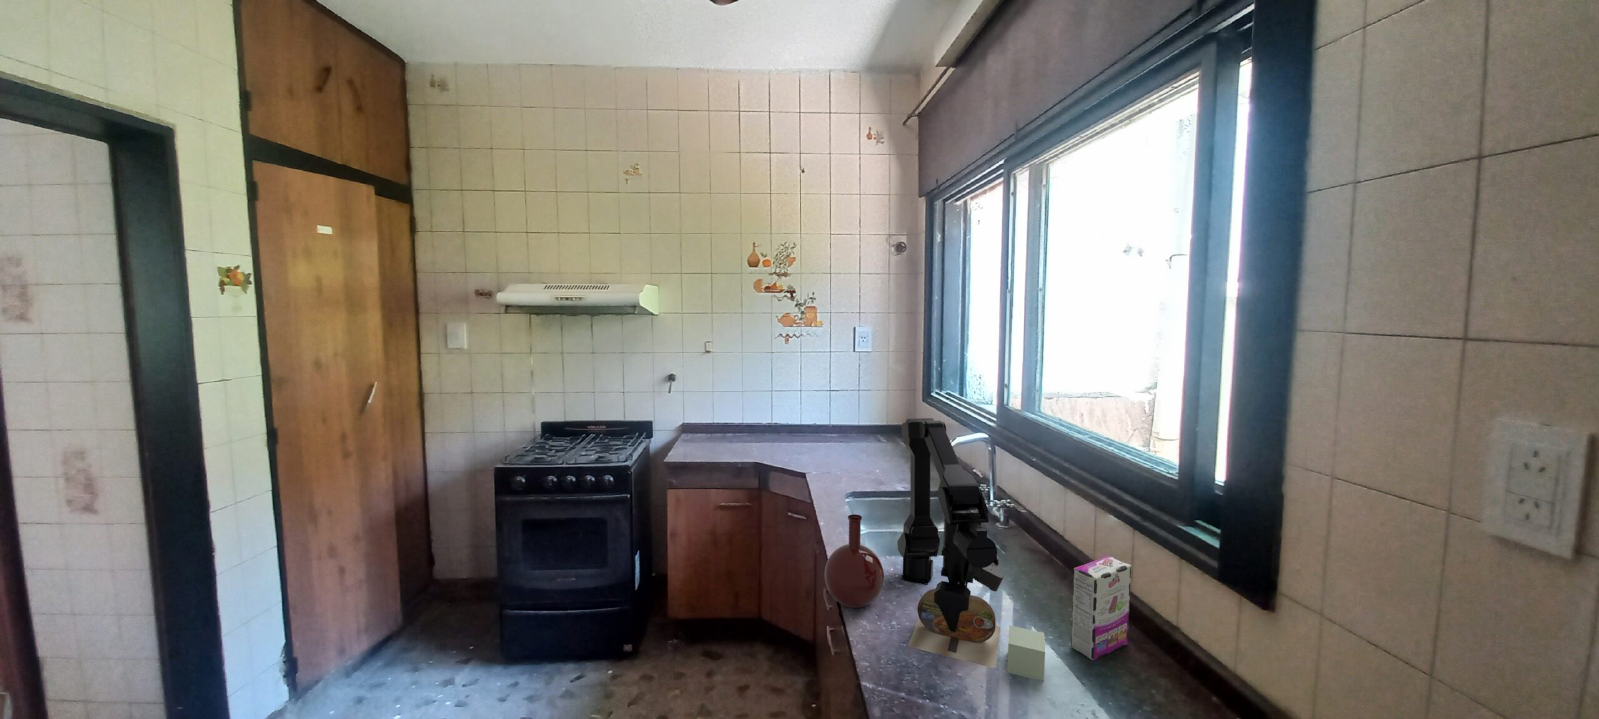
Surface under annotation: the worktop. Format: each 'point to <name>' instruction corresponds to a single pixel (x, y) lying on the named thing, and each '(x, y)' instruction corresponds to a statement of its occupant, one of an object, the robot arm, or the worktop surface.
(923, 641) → the board
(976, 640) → the tin
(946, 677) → the worktop surface
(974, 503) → the robot arm
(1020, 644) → the green block
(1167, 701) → the worktop surface
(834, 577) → the round-bottom flask
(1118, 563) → the candy bar box
